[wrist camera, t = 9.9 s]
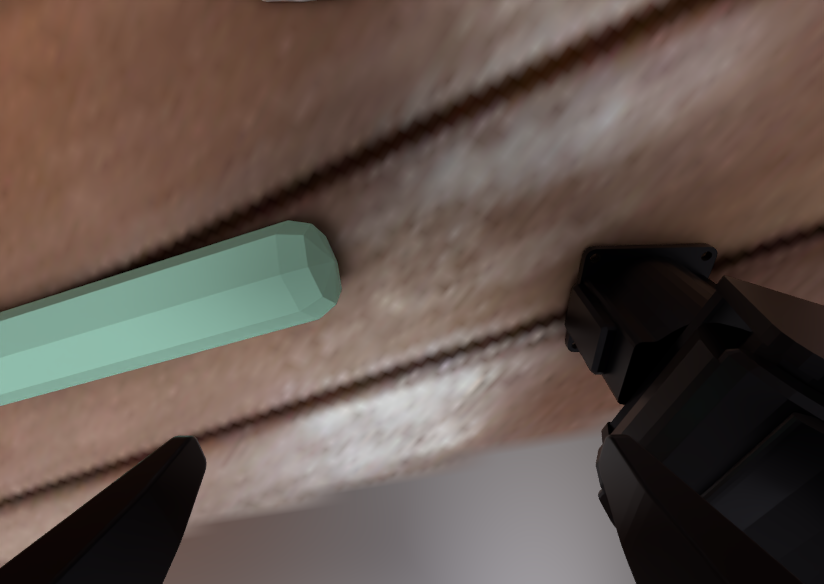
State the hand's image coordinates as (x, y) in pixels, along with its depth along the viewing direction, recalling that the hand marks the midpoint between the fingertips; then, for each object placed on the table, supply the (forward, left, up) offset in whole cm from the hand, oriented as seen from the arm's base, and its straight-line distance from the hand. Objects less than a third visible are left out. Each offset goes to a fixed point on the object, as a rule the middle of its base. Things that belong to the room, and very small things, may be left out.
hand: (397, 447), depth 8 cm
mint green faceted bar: (+16, +4, -14) cm, 21 cm away
